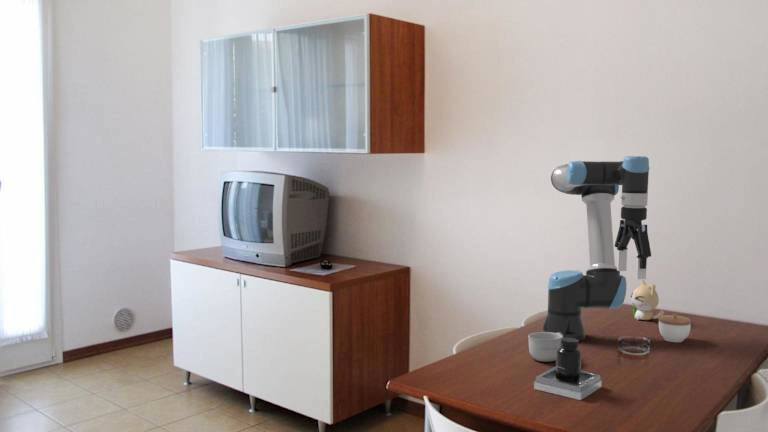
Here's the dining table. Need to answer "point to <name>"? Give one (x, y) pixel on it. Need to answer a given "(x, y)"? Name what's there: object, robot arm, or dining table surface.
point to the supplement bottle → (568, 361)
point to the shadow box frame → (568, 384)
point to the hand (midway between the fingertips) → (631, 274)
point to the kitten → (645, 302)
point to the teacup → (544, 345)
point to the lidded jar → (674, 327)
